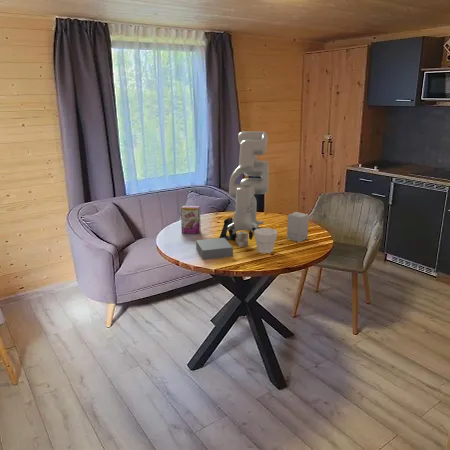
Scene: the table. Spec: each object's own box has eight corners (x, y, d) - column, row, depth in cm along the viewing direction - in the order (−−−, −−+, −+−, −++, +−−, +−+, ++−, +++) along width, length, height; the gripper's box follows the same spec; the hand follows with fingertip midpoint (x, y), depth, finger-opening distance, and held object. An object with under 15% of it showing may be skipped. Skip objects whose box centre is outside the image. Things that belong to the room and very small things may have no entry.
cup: (270, 256, 211) (271, 236, 208) (249, 252, 218) (249, 232, 214) (280, 249, 221) (281, 230, 218) (260, 245, 228) (260, 226, 224)
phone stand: (237, 237, 241) (237, 218, 237) (233, 240, 236) (233, 220, 232) (223, 235, 244) (223, 216, 241) (219, 238, 239) (219, 218, 236)
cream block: (245, 243, 231) (245, 231, 229) (247, 246, 227) (248, 234, 224) (236, 244, 230) (236, 232, 228) (239, 247, 225) (239, 235, 223)
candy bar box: (181, 233, 248) (180, 207, 243) (183, 231, 253) (182, 205, 248) (199, 234, 247) (199, 207, 242) (200, 231, 252) (200, 205, 247)
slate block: (224, 246, 226) (224, 237, 225) (232, 256, 212) (232, 247, 210) (196, 249, 222) (196, 240, 221) (202, 259, 208) (202, 250, 206)
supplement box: (308, 239, 238) (309, 214, 234) (299, 242, 232) (300, 217, 227) (294, 235, 244) (296, 211, 240) (286, 239, 238) (287, 214, 233)
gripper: (255, 207, 228) (254, 236, 233) (225, 209, 223) (225, 239, 228) (259, 210, 221) (259, 240, 226) (229, 212, 216) (229, 243, 221)
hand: (242, 239), depth 227 cm, fingers open, 9 cm apart
